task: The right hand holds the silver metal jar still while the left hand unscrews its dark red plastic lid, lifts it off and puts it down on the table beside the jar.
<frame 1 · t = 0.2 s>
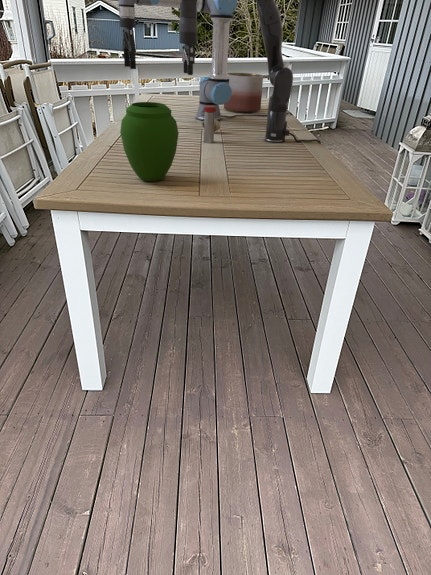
left hand: (130, 67, 208), 28 cm above the table, tool pointing down, fingers open, 13 cm apart
right hand: (188, 74, 181), 29 cm above the table, tool pointing down, fingers open, 8 cm apart
planter: (241, 110, 282), on the table
lid: (209, 107, 191), point 16 cm above the table, screwed on, not yet turned
vase: (151, 178, 146), on the table
jar: (208, 141, 199), on the table
seashell: (211, 132, 217), on the table
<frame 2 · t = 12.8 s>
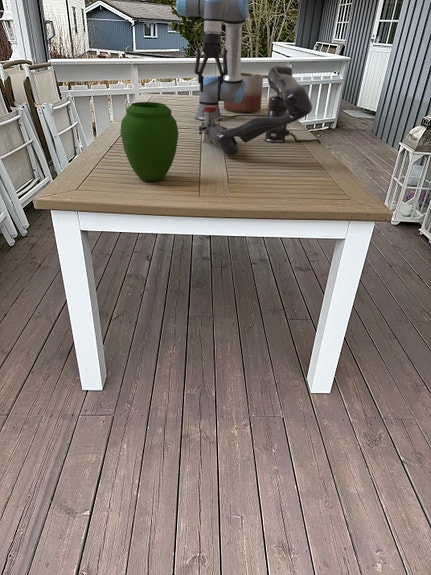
left hand: (210, 91, 187), 22 cm above the table, tool pointing down, fingers open, 8 cm apart
right hand: (207, 126, 198), 6 cm above the table, tool horizontal, fingers closed on jar, 5 cm apart
jar: (208, 141, 199), on the table, touching right hand
everything else where it was.
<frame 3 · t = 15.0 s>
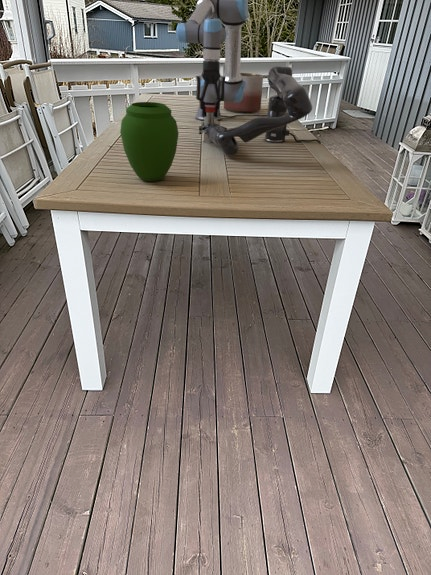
left hand: (209, 116, 193), 12 cm above the table, tool pointing down, fingers closed on lid, 5 cm apart
right hand: (207, 126, 198), 6 cm above the table, tool horizontal, fingers closed on jar, 5 cm apart
lid: (209, 107, 191), point 16 cm above the table, screwed on, not yet turned, touching left hand
jar: (208, 141, 199), on the table, touching right hand
everything else where it was.
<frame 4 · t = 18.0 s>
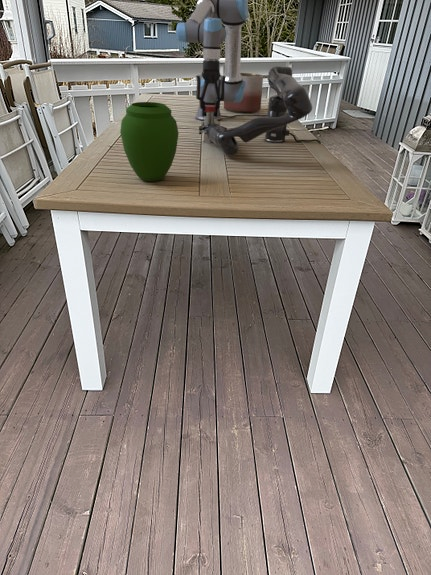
left hand: (209, 116, 193), 12 cm above the table, tool pointing down, fingers closed on lid, 5 cm apart
right hand: (207, 126, 198), 6 cm above the table, tool horizontal, fingers closed on jar, 5 cm apart
lid: (209, 106, 190), point 16 cm above the table, turned 71° so far, risen 0.2 cm, still on its thread, touching left hand
jar: (208, 141, 199), on the table, touching right hand
everything else where it was.
when the left hand's fingers open (0 cm above the table, at t = 27.8 s): lid drops 3 cm, point 2 cm above the table.
when the right hand's fingers open (6 cm above the table, at t = 29.0 s): jar stays where it is, on the table.
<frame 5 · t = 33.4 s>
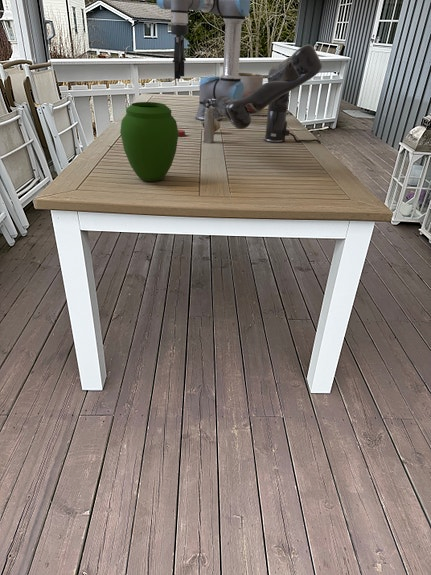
left hand: (179, 77, 194), 26 cm above the table, tool pointing down, fingers open, 13 cm apart
right hand: (216, 101, 180), 20 cm above the table, tool horizontal, fingers open, 8 cm apart
lid: (179, 131, 207), point 2 cm above the table, off its thread
jar: (208, 141, 199), on the table
everything else where it was.
at the end: lid came off its thread; lid point 1.7 cm above the table; the left hand is holding nothing; the right hand is holding nothing; jar tilted 0°; jar moved 0.0 cm from its start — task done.
